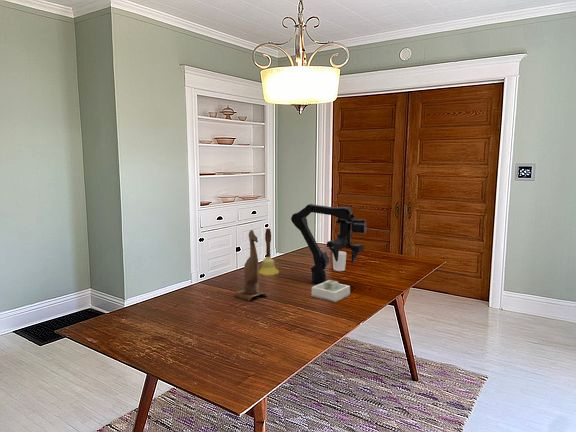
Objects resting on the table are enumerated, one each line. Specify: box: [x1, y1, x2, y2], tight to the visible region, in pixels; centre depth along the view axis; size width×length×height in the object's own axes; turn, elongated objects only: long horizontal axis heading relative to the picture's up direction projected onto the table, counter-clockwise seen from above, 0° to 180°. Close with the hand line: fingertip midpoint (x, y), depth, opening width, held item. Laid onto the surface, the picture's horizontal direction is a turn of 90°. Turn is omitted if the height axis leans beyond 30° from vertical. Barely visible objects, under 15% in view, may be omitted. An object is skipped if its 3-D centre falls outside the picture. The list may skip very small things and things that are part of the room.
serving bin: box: [311, 282, 351, 303], centre depth 204 cm, size 13×13×4 cm
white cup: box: [332, 250, 347, 272], centre depth 249 cm, size 8×8×10 cm
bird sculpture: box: [234, 229, 269, 303], centre depth 201 cm, size 11×12×32 cm
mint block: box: [323, 279, 339, 292], centre depth 204 cm, size 5×5×6 cm
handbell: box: [259, 228, 280, 276], centre depth 242 cm, size 12×12×25 cm
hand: (344, 262), depth 219 cm, fingers open, 9 cm apart
